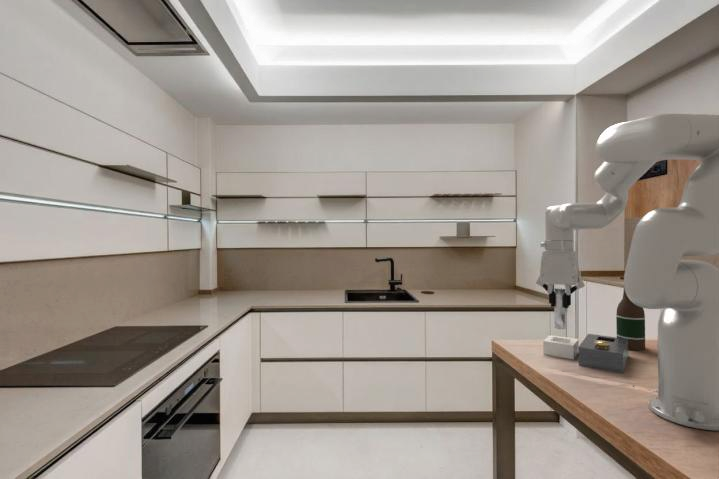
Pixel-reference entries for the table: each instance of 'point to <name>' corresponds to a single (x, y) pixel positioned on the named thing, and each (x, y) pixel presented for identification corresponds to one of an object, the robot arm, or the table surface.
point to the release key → (601, 344)
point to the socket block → (604, 353)
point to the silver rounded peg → (559, 309)
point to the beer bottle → (631, 324)
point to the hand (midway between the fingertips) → (559, 306)
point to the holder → (561, 347)
